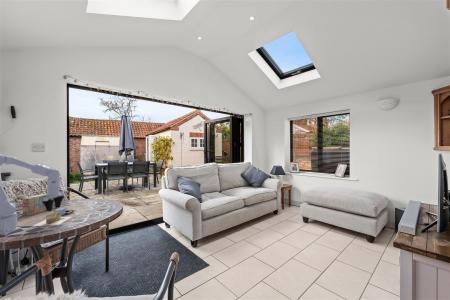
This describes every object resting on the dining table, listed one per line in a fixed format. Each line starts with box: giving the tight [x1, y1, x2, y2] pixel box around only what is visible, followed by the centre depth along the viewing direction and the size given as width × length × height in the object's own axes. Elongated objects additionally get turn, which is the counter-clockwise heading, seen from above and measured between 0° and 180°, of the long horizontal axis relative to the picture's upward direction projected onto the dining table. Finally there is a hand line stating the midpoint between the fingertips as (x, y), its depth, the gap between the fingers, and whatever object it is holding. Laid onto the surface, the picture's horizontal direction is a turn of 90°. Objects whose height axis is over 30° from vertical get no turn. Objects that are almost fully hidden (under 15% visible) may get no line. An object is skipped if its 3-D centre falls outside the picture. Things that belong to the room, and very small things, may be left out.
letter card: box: [33, 216, 72, 227], centre depth 121 cm, size 14×14×1 cm
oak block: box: [45, 211, 62, 223], centre depth 121 cm, size 5×5×5 cm
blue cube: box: [53, 207, 67, 217], centre depth 133 cm, size 4×4×4 cm
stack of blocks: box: [21, 193, 62, 216], centre depth 143 cm, size 21×6×12 cm, turn 170°
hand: (53, 209), depth 121 cm, fingers open, 7 cm apart
